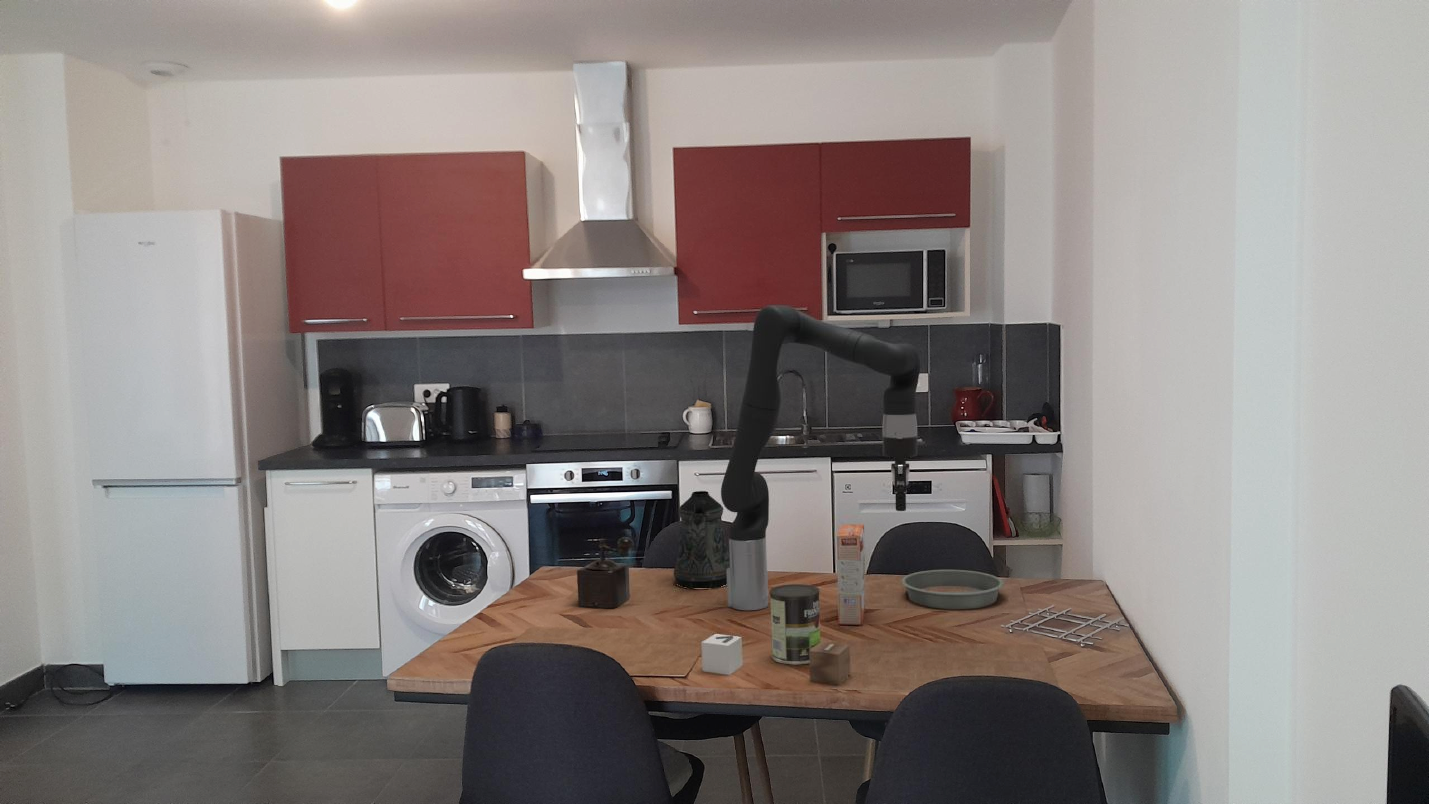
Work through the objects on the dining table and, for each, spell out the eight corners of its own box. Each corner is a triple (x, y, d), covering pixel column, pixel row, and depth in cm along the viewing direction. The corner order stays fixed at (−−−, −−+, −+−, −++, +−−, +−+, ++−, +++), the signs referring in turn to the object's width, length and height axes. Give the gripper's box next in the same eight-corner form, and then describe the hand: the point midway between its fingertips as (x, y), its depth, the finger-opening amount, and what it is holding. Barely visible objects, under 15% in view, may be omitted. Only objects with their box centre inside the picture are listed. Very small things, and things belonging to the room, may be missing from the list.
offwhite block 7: (702, 671, 196) (701, 641, 195) (716, 662, 201) (715, 632, 201) (729, 675, 193) (728, 644, 193) (742, 665, 198) (741, 635, 198)
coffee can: (829, 652, 204) (827, 586, 203) (807, 667, 195) (805, 598, 194) (786, 646, 209) (783, 581, 209) (762, 660, 201) (760, 593, 200)
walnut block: (810, 681, 188) (809, 649, 188) (821, 671, 193) (820, 640, 193) (839, 685, 185) (838, 653, 185) (850, 675, 191) (849, 644, 190)
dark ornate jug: (719, 572, 278) (716, 485, 276) (749, 586, 260) (745, 494, 259) (665, 579, 271) (661, 490, 270) (691, 595, 254) (688, 500, 252)
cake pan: (1024, 598, 240) (1024, 580, 240) (956, 618, 226) (956, 598, 226) (948, 580, 260) (947, 564, 260) (881, 597, 246) (881, 579, 246)
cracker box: (864, 626, 222) (861, 535, 220) (837, 625, 223) (835, 535, 222) (867, 609, 235) (864, 523, 234) (842, 608, 237) (839, 523, 235)
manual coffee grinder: (575, 607, 246) (572, 537, 245) (594, 596, 257) (591, 528, 256) (632, 610, 241) (629, 539, 240) (649, 599, 252) (646, 530, 251)
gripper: (883, 431, 222) (884, 501, 224) (881, 438, 209) (883, 513, 210) (916, 430, 221) (917, 501, 222) (917, 437, 207) (918, 513, 208)
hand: (900, 507), depth 216 cm, fingers open, 8 cm apart
